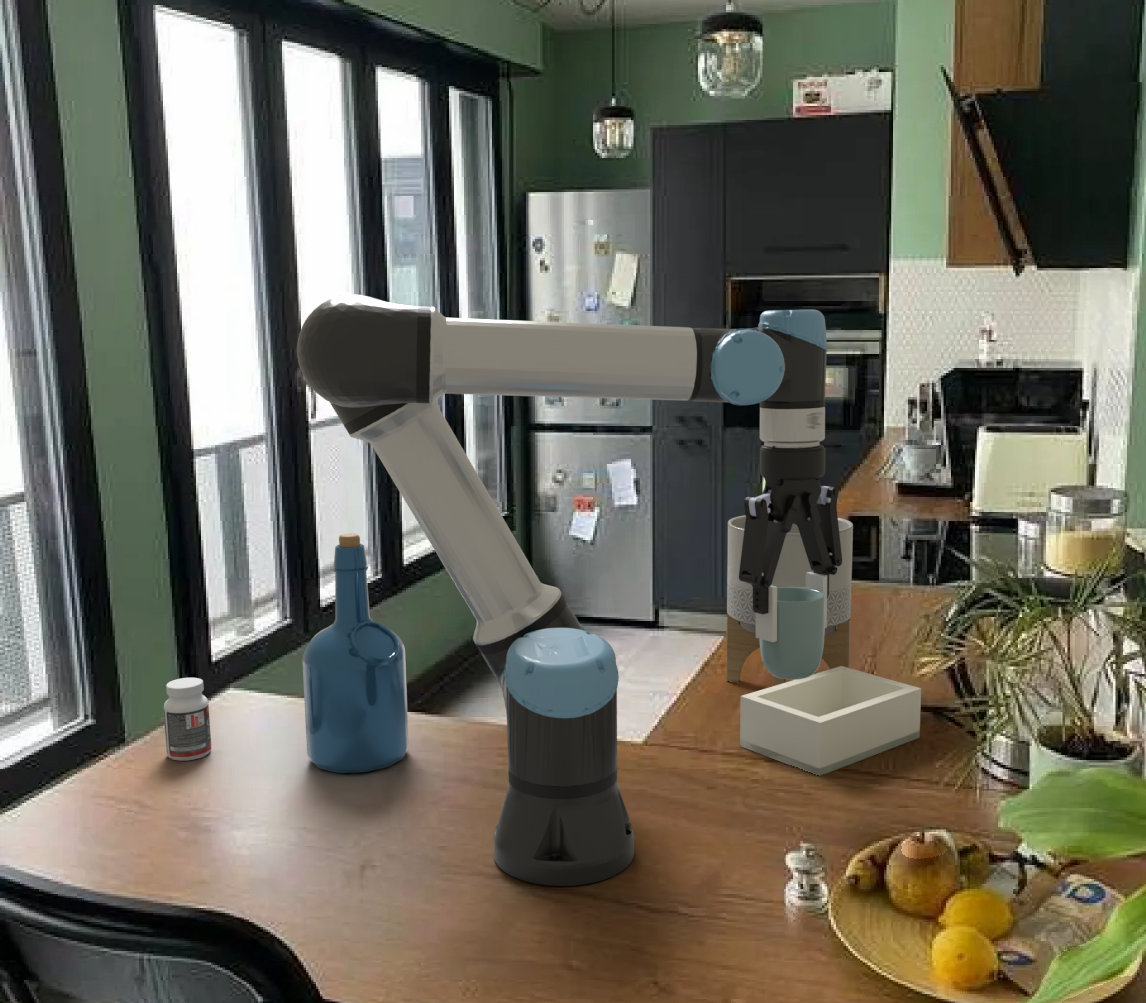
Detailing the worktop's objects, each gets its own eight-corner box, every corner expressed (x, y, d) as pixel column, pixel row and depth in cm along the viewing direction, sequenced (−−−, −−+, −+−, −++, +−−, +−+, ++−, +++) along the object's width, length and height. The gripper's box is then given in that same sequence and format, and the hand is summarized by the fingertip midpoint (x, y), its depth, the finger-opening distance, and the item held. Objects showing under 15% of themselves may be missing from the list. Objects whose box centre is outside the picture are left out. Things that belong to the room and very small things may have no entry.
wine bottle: (287, 759, 150) (275, 536, 145) (368, 732, 159) (360, 522, 155) (349, 786, 141) (338, 549, 136) (431, 756, 150) (424, 533, 146)
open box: (818, 776, 142) (820, 722, 141) (740, 746, 153) (740, 696, 152) (919, 737, 155) (921, 688, 154) (840, 712, 165) (841, 665, 164)
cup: (824, 686, 132) (824, 602, 130) (756, 683, 134) (756, 600, 132) (824, 666, 139) (825, 587, 138) (760, 664, 141) (760, 585, 140)
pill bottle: (219, 753, 152) (215, 682, 151) (180, 765, 148) (175, 692, 147) (198, 743, 156) (193, 673, 155) (159, 754, 152) (154, 683, 151)
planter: (842, 710, 166) (846, 536, 162) (715, 698, 172) (716, 530, 168) (853, 673, 184) (858, 515, 180) (738, 663, 190) (740, 510, 186)
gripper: (752, 453, 123) (752, 656, 127) (875, 438, 135) (872, 623, 139) (704, 448, 129) (706, 642, 133) (827, 434, 141) (825, 612, 145)
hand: (791, 632), depth 136 cm, fingers closed on cup, 8 cm apart
